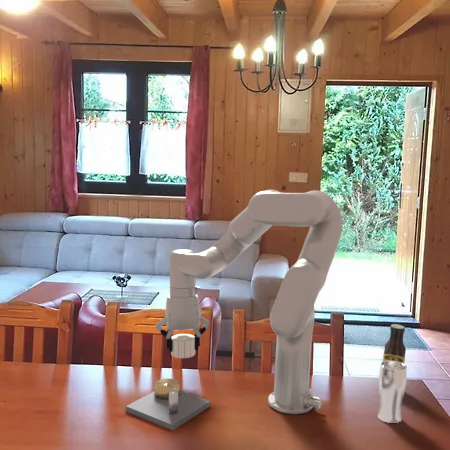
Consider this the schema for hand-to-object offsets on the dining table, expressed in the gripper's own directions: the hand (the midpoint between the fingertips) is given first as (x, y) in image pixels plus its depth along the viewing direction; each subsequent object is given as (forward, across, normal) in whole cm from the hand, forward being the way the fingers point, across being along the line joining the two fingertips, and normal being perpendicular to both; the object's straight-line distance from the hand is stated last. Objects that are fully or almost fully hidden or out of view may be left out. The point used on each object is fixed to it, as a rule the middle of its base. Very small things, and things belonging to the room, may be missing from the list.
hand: (183, 349), depth 159 cm
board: (+10, +6, +16) cm, 20 cm away
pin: (+9, +5, +21) cm, 23 cm away
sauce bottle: (+12, -61, +12) cm, 64 cm away
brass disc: (+9, +6, +10) cm, 15 cm away
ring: (+1, 0, 0) cm, 1 cm away
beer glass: (+13, -52, +28) cm, 61 cm away
